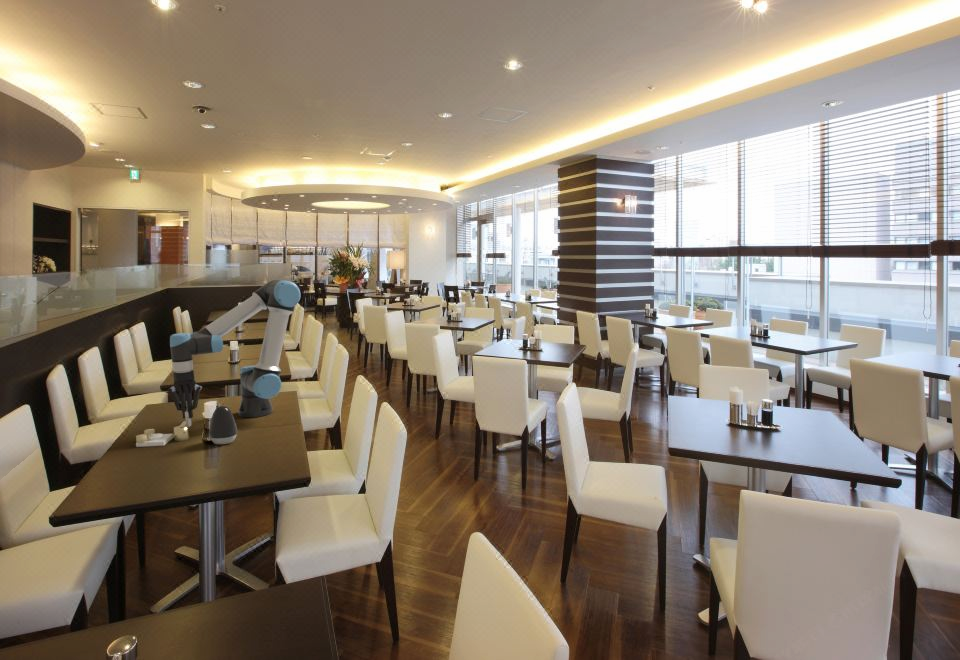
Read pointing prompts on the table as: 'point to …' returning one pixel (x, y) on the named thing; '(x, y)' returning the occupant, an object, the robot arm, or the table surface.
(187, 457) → the table surface
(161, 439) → the levelling base
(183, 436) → the footscrew knob
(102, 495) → the table surface
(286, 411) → the table surface
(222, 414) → the dark grey egg-shaped device
